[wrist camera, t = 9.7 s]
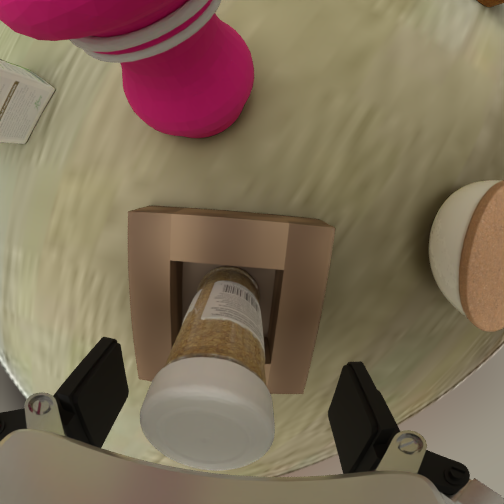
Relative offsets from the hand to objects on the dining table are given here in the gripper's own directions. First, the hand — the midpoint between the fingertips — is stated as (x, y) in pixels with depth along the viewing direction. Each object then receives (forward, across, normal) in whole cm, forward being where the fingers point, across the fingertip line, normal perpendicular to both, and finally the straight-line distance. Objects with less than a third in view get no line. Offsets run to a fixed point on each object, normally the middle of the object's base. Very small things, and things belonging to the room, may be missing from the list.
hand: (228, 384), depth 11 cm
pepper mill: (+11, +4, -14) cm, 18 cm away
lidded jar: (+12, -18, -6) cm, 22 cm away
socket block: (+11, +1, 0) cm, 11 cm away
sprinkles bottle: (+10, +1, 0) cm, 11 cm away
